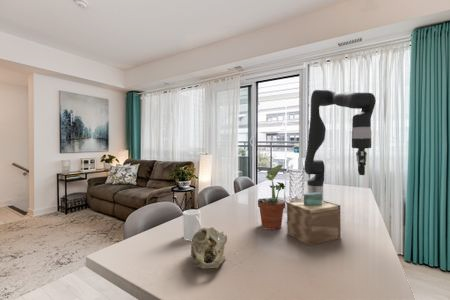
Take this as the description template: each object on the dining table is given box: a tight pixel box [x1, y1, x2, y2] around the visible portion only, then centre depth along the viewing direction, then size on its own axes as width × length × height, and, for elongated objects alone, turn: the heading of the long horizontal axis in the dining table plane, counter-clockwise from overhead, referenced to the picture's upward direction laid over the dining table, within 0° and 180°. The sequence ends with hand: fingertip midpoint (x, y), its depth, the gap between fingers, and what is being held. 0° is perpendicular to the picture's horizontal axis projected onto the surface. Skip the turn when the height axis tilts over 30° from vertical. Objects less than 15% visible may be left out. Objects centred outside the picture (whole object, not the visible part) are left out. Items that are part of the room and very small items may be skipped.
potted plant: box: [257, 164, 286, 231], centre depth 116 cm, size 16×15×35 cm
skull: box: [190, 226, 228, 269], centre depth 81 cm, size 11×20×15 cm
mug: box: [182, 209, 202, 240], centre depth 102 cm, size 12×8×12 cm
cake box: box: [286, 199, 342, 246], centre depth 103 cm, size 14×19×15 cm
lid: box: [290, 192, 338, 213], centre depth 103 cm, size 14×16×6 cm
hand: (361, 173), depth 99 cm, fingers open, 8 cm apart
